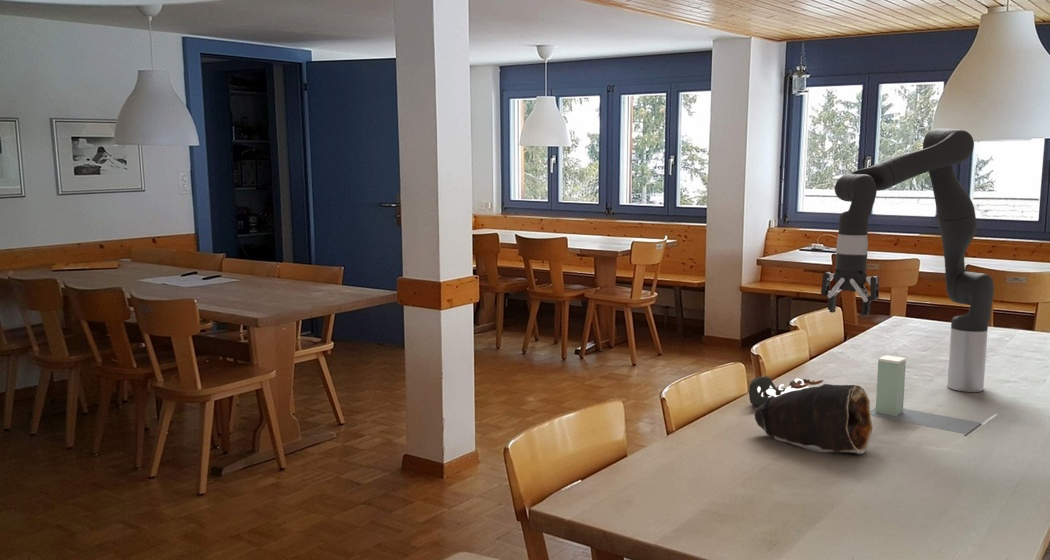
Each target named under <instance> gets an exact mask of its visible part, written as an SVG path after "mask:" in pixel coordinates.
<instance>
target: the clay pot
mask: <svg viewBox="0 0 1050 560" xmlns="http://www.w3.org/2000/svg"><path fill="white" fill-rule="evenodd" d="M870 402H871V400H870V399H869V396H868V395H867V393H866V391H865V389H864V388H863V387H862V386H860V385H856V384H829V383H828V384H827V383H824V384H822V385H819V386H812V387H810V388H804V389H801V390H796V391H791V392H787V393H784V394H782V395H780V396H777V397H769V398H768V399H767V401H766V402H765V403H764V404H763V405H760V406H759V407H756V409H755V410H754V419H755V421H756V424H757V425H758V427H760V428H761V429H762V430H763V432H765V434H766V435H768V436H769V437H771V438H773V439H775V440H776V441H778V442H783V443H789V444H792V445H794V446H796V447H799V448H800V447H801V448H804V449H806V450H810V451H813V452H814V451H815V452H819V453H851V454H852V453H854V454H857V455H862V454H864V453H865V452H866V451H867V448H868V446H869V444H870V441H871V437H872V436H873V422H872V416H871V415H870V411H871V405H870V404H871V403H870Z"/></svg>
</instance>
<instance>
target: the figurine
mask: <svg viewBox="0 0 1050 560" xmlns="http://www.w3.org/2000/svg"><path fill="white" fill-rule="evenodd" d="M823 382H824V379H819V380H817V381H815V380H814V379H813V380H812V381H811V380H810V379H809V378H808V379H806V378H804V379H801V378H798V377H796V378H795V379H794V380H793V379H792V380H791V381H790V382H789V384H788V385H789V386H787V387H785V384H784V383H781V384H779V385H778V386H777V387H776V385H775V384H774V382H773V380H772V379H771V377H769V376H768V375H765V376H757V377H754V378H753V379H752V380H751V382H750V384H749V388H748V396H749V398H748V399H749V402H750V404H751V405H752V406H753V407H755V408H758V407H760V406H761V405H763V404H764V403H765V402H766V401H767V399H768V398H769V397H777V396H780V395H782V394H784V393H787V392H791V391H796V390H801V389H804V388H811V387H810V386H809V385H811V386H815V385H819V384H822V383H823Z"/></svg>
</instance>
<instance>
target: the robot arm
mask: <svg viewBox="0 0 1050 560" xmlns="http://www.w3.org/2000/svg"><path fill="white" fill-rule="evenodd" d="M922 141H923V142H922V148H921V149H919V150H914V151H911V152H906V153H900V154H898V155H895V156H891V157H889V158H886V159H884V160H882V161H880V162H878V163H876V164H873V165H872V166H869V167H865V168H861V169H857V170H854V171H850V172H848V173H845V174H844V175H842V176H840V177H839V179H837V180H836V182H835V184H834V193H835V195H836V197H837V198H838V199H839V200H841V201H843V202H850V206H849V209H848V210H846V211H843V212H841V213H840V215H839V219H838V236H837V242H836V247H835V251H836V252H835V253H836V254H835V272H834V273H831V272H830V271H827V272H823V273H822V279H821V280H822V281H821V290H820V294H821V295H822V296H825V297H826V298H827V309H828V311H829V313H836V309H837V308H836V307H837V306H836V305H837V298H836V296H837V295H838V293H840V292H841V291H842V292H843V291H844V292H846V291H848V292H851V293H852V292H853V293H854V292H856V293H857V294H858V295H859V297H860V298H861V299H862V303H861V305H862V308H861V317H868V315H870V313H871V306H872V305H871V303H872V301H875V300H878V299H880V298H879V297H880V295H879V294H880V291H879V290H880V281H879V280H880V278H879V276H878V275H876V276H868V275H867V267H868V266H867V265H868V263H867V262H868V252H869V251H868V250H869V249H868V247H869V241H868V230H869V218H870V215H871V212H872V210H873V207H874V203H875V200H876V197H877V192H879V191H884V190H887V189H889V188H892V187H894V186H897V185H899V184H901V183H903V182H905V181H907V180H909V179H912V178H915V177H918V176H920V175H923V174H926V173H928V175H929V179H930V182H931V187H932V191H933V196H934V197H933V198H934V202H935V207H936V214H937V215H936V216H937V221H938V226H939V231H940V237H941V243H942V250H943V257H944V269H945V270H944V272H945V273H944V275H945V287H946V292H947V293H946V294H947V297H948V299H950V301H952V303H956V304H961V305H969V310H968V311H967V313H965V314H962V315H956V316H953V317H952V319H951V321H950V323H951V324H950V339H949V353H948V354H949V355H948V368H947V369H948V370H947V385H946V386H947V388H948V389H952V390H955V391H959V392H966V393H968V392H969V393H977V392H982V391H984V384H985V375H986V374H985V373H986V360H987V359H986V358H987V348H988V347H987V345H988V330H989V329H988V327H989V323H990V320H991V317H992V316H991V315H992V308H993V299H994V292H995V290H994V289H995V285H994V279H993V278H992V276H991V275H990V274H987V273H982V272H974V271H967V270H966V266H965V255H966V252H967V250H968V248H969V246H970V244H971V243H972V241H973V239H974V237H975V236H976V233H977V228H978V224H977V223H978V222H977V217H976V215H977V214H976V210H975V206H974V203H973V201H972V199H971V198H970V196H969V194H968V193H967V191H966V189H964V187H963V186H962V185H961V183H960V182H959V180H958V179H957V177H956V174H955V172H954V168H953V167H954V165H957V164H960V163H964V162H965V161H966V160H967V159H969V158H970V156H971V154H972V153H973V150H974V148H975V147H974V146H975V145H974V144H975V142H974V141H975V140H974V138H973V136H972V134H971V133H969V131H966V130H964V129H959V128H942V127H939V128H932V129H930V130H929V131H928V132H927V133H926V134H925V136H924V138H923V140H922ZM833 280H834V281H835V282H836V283H835V285H834V286H833V287H832V288H831V281H833ZM866 283H868V285H869V286H870V293H869V292H868V289H867V288H866V286H865V284H866ZM830 288H831V290H830Z"/></svg>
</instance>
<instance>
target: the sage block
mask: <svg viewBox="0 0 1050 560" xmlns="http://www.w3.org/2000/svg"><path fill="white" fill-rule="evenodd" d="M906 364H907V358H905V357H900V356H894V355H887V354H886V355H883V356H880V357H878V363H877V376H876V377H877V378H876V379H877V380H876V381H877V382H876V397H875V398H876V400H875V408H876V412H877V413H882V414H887V415H893V416H897V415H898V414H900V413H902V412H903V408H904V399H905V397H904V396H905V381H906V380H905V379H906V368H907V367H906Z"/></svg>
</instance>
